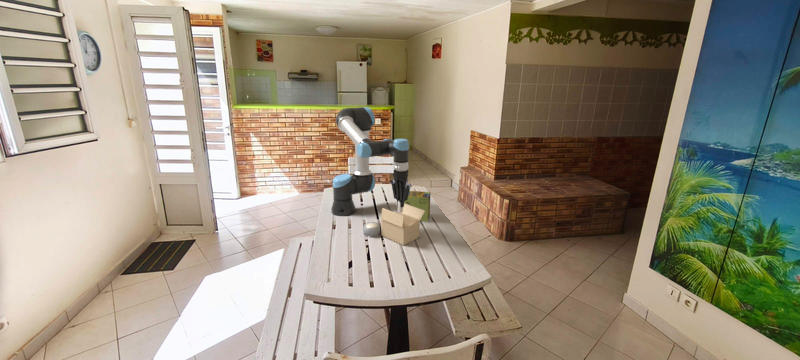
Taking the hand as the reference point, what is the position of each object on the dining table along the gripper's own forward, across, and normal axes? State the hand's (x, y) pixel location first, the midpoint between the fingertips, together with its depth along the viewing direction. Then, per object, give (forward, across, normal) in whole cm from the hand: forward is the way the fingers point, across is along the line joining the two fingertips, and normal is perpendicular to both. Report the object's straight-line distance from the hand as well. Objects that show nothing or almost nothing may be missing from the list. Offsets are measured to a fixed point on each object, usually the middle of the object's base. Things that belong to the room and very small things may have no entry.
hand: (400, 212), depth 181 cm
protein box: (+15, -10, +26) cm, 32 cm away
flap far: (+2, 0, +9) cm, 10 cm away
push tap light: (+15, -14, -8) cm, 22 cm away
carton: (+14, 0, 0) cm, 14 cm away
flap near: (+1, 0, -6) cm, 6 cm away
